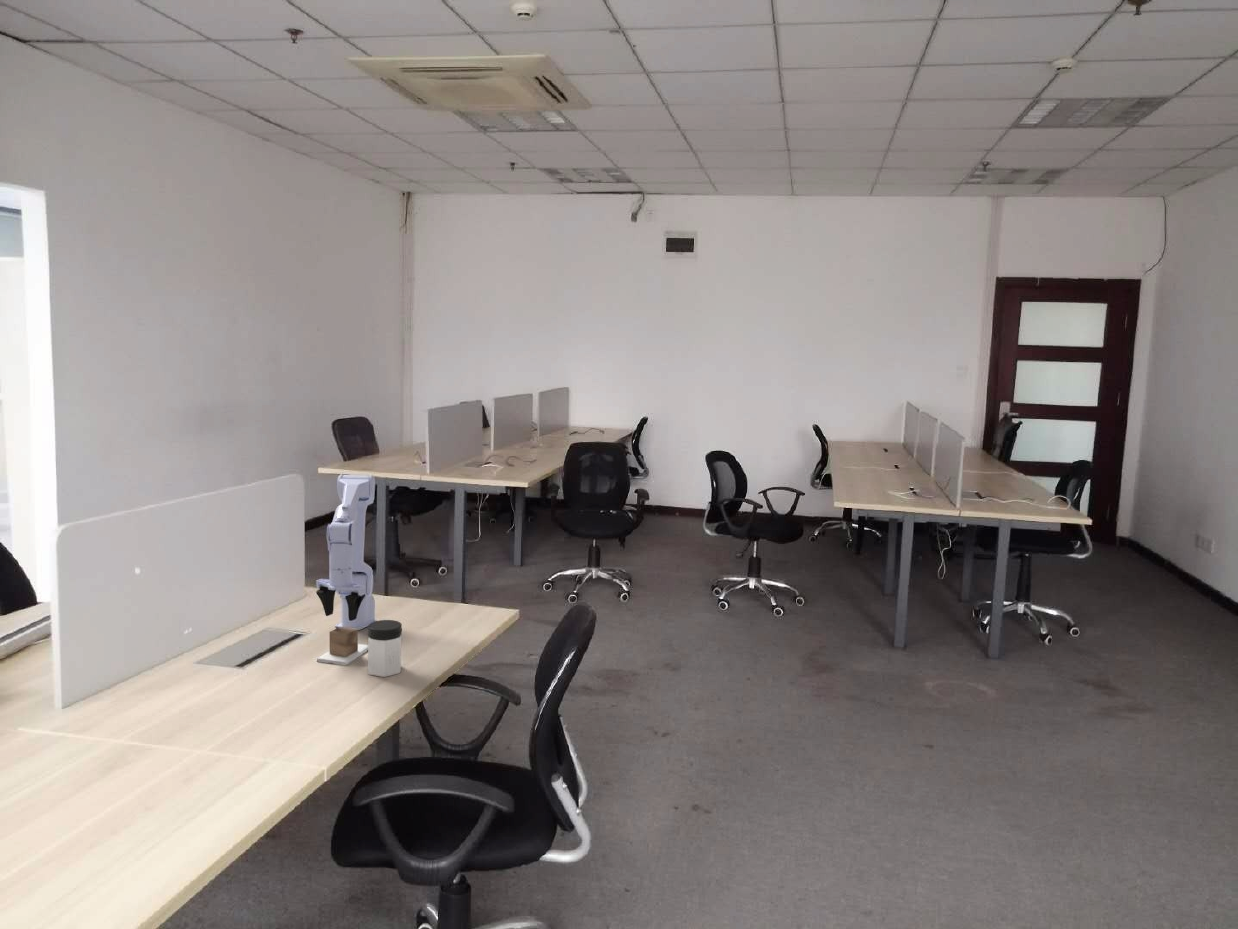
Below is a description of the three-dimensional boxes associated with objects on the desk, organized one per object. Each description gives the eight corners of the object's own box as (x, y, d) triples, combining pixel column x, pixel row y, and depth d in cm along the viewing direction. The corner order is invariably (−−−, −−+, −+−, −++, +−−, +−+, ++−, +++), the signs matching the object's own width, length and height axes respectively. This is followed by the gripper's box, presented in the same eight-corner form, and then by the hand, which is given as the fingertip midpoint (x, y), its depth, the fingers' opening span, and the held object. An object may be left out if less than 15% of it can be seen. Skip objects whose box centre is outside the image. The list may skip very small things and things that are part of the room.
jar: (376, 680, 205) (376, 633, 203) (360, 669, 211) (360, 624, 209) (408, 671, 211) (409, 626, 209) (392, 661, 217) (393, 617, 215)
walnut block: (342, 647, 222) (342, 626, 221) (357, 651, 220) (357, 629, 220) (329, 653, 217) (329, 631, 217) (345, 657, 216) (345, 634, 215)
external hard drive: (370, 651, 225) (345, 667, 213) (342, 647, 227) (316, 663, 215) (370, 645, 225) (345, 661, 213) (342, 641, 226) (316, 657, 214)
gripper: (307, 566, 217) (308, 617, 219) (353, 575, 212) (353, 626, 214) (326, 560, 223) (326, 609, 225) (371, 568, 218) (371, 618, 220)
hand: (340, 617), depth 220 cm, fingers open, 7 cm apart
